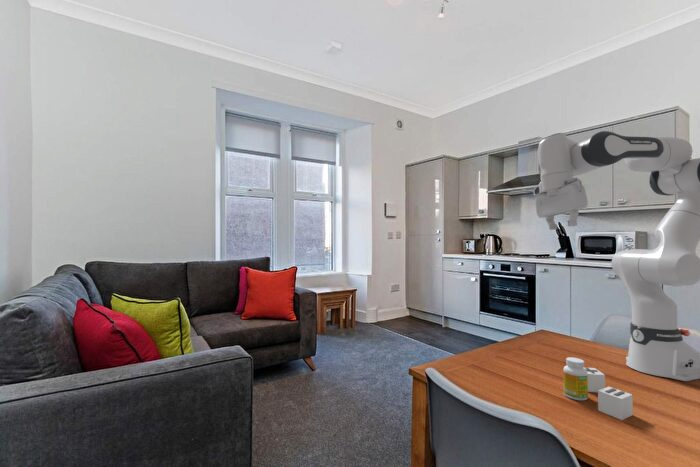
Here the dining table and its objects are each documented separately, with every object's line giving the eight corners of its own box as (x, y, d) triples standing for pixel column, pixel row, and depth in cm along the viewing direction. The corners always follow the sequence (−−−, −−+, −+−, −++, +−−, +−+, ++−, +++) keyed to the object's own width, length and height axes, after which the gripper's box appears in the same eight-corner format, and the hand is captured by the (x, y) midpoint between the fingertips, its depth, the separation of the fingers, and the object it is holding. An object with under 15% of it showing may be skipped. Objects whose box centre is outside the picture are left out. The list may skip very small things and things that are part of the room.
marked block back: (594, 385, 98) (594, 367, 98) (605, 393, 93) (604, 374, 93) (576, 384, 99) (575, 366, 99) (585, 391, 94) (585, 373, 94)
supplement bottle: (580, 402, 88) (580, 364, 88) (559, 394, 92) (558, 358, 93) (592, 398, 90) (591, 361, 90) (570, 390, 95) (570, 355, 95)
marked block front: (609, 406, 86) (609, 385, 86) (632, 415, 82) (632, 393, 82) (598, 410, 84) (597, 389, 84) (621, 420, 79) (621, 398, 79)
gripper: (590, 175, 97) (597, 223, 95) (548, 191, 117) (553, 230, 116) (569, 176, 97) (574, 224, 95) (530, 192, 117) (534, 231, 116)
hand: (562, 227), depth 106 cm, fingers open, 8 cm apart
